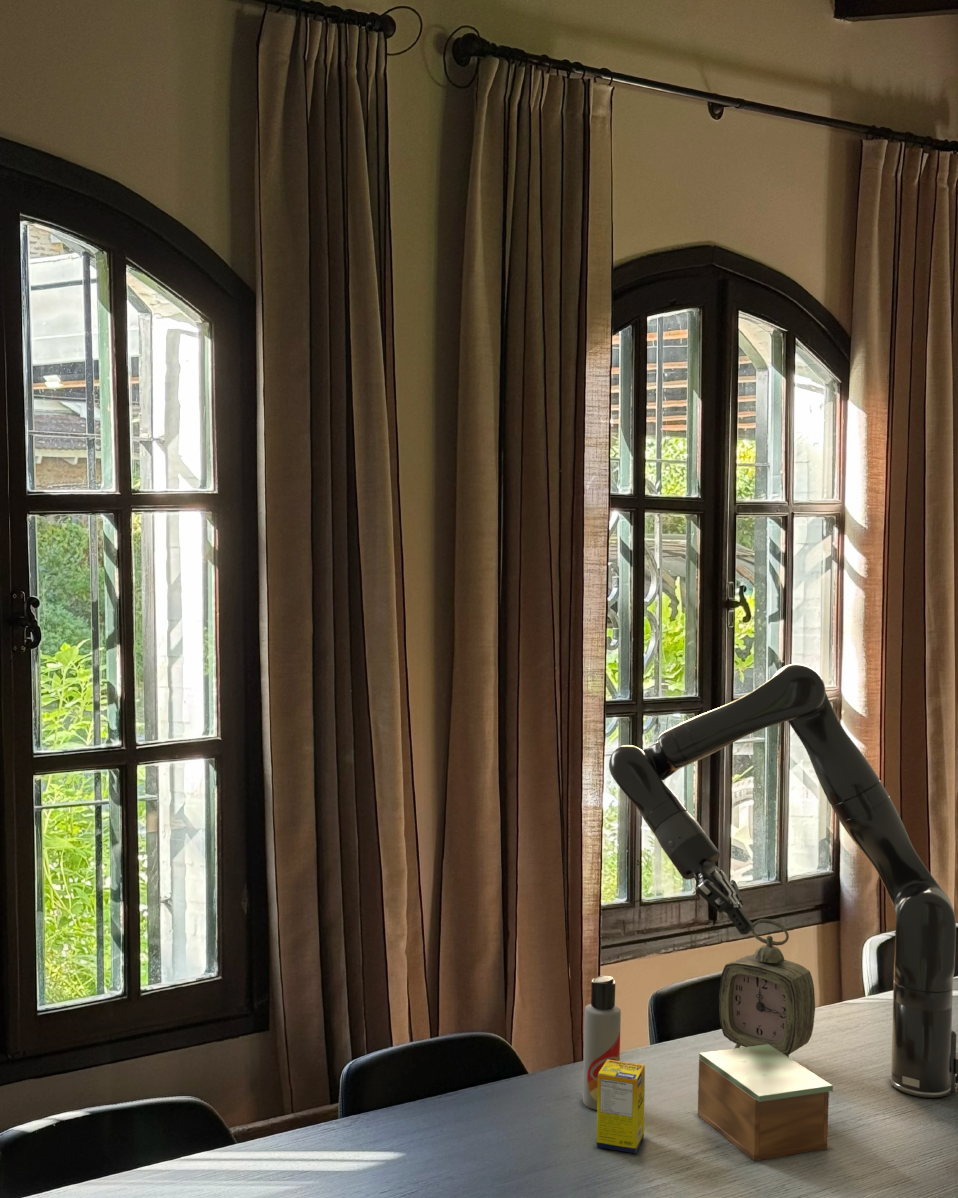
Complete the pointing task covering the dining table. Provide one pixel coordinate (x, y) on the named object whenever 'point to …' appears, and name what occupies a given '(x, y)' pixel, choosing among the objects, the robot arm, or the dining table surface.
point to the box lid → (765, 1072)
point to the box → (762, 1118)
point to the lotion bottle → (599, 1035)
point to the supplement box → (620, 1106)
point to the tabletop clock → (767, 999)
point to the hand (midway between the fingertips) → (748, 931)
